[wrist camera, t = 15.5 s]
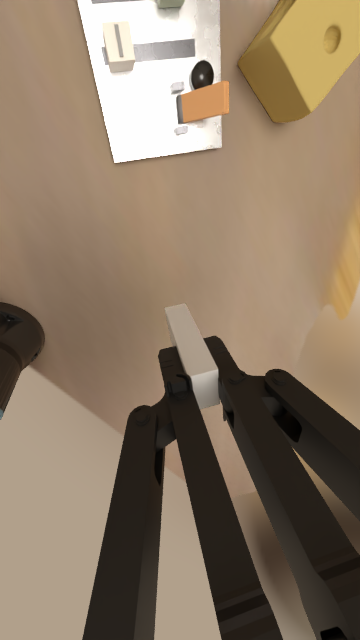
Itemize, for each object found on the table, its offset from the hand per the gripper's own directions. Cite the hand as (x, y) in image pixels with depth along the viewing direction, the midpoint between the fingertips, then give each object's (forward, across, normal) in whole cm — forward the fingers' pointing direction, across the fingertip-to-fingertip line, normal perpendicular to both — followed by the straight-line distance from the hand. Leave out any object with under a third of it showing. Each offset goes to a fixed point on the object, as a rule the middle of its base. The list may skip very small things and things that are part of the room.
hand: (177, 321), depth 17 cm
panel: (+32, +7, +20) cm, 38 cm away
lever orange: (+30, +9, +15) cm, 35 cm away
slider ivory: (+30, +2, +21) cm, 37 cm away
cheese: (+33, +25, +19) cm, 45 cm away
